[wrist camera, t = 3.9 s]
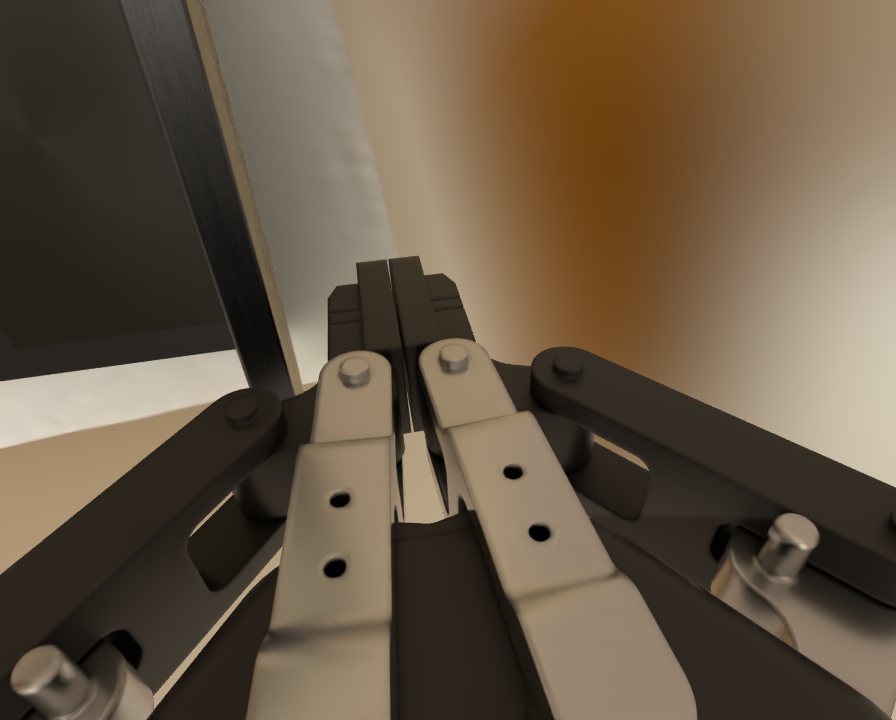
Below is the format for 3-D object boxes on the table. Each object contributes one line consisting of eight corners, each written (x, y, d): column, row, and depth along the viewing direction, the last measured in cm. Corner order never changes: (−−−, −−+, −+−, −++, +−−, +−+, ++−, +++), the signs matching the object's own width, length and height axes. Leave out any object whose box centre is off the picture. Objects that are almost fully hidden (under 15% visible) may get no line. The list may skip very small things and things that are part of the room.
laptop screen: (344, 674, 19) (369, 664, 19) (-452, -1585, 3) (-226, -1482, 3) (276, 344, 34) (291, 340, 34) (88, -319, 17) (120, -317, 18)
